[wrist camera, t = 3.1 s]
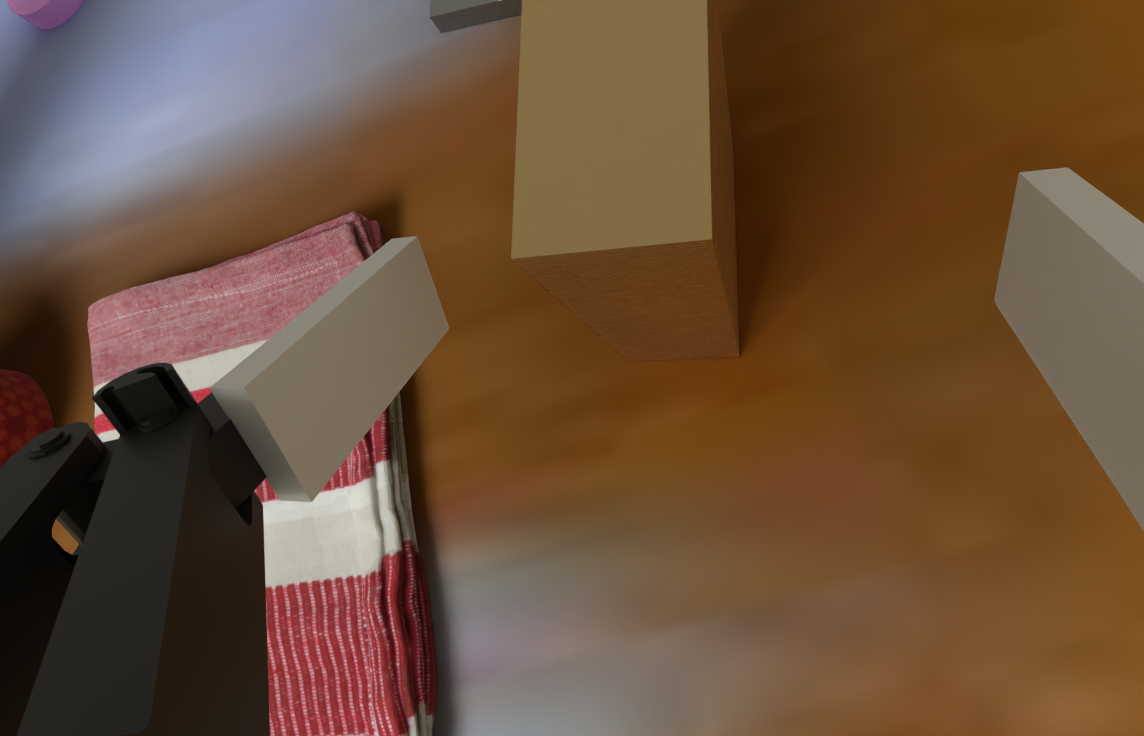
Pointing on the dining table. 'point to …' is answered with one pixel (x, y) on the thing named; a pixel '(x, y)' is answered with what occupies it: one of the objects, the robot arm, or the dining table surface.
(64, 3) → the bracket
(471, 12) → the steel base leaf
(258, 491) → the dish towel
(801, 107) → the dining table surface
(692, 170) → the tan block
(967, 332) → the dining table surface
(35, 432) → the canned food
